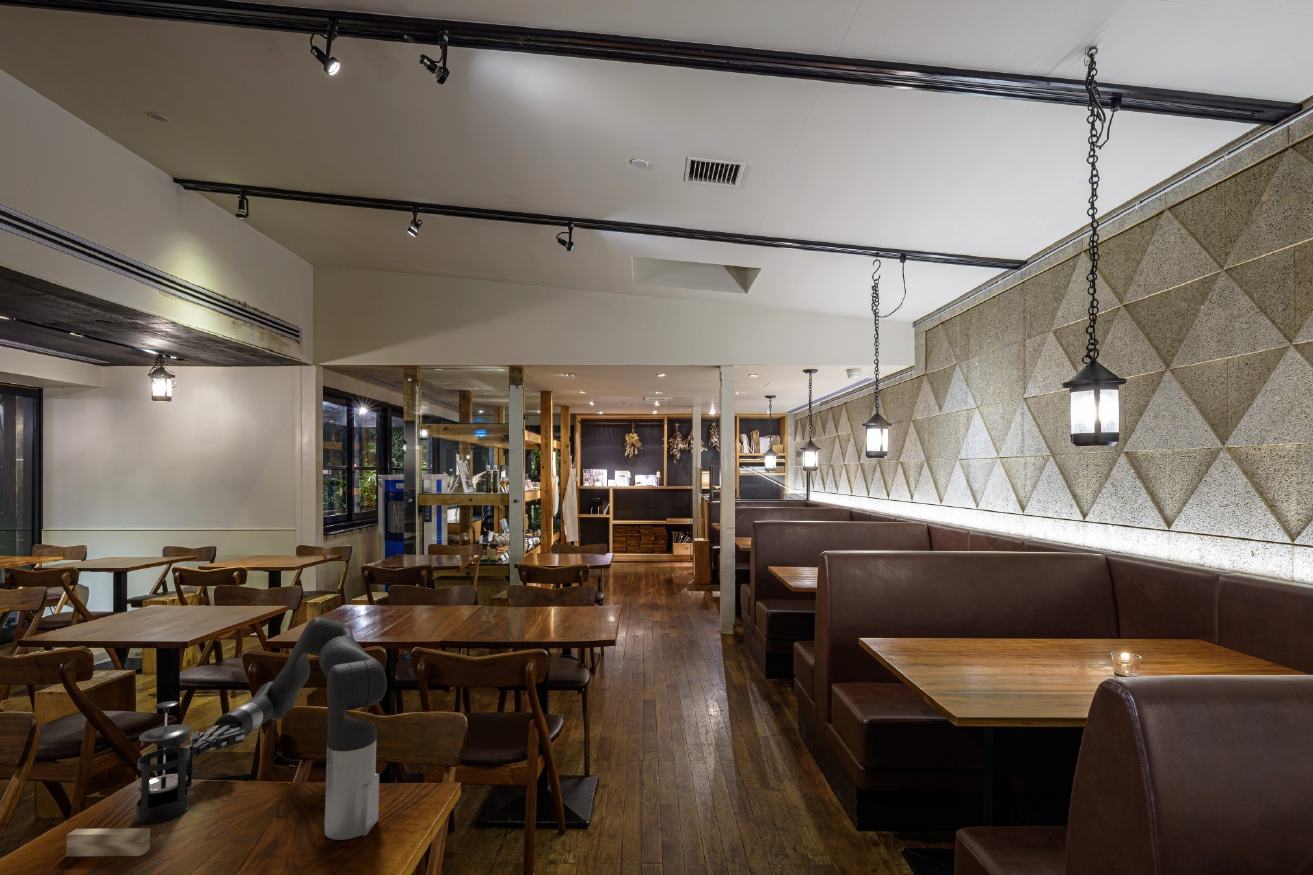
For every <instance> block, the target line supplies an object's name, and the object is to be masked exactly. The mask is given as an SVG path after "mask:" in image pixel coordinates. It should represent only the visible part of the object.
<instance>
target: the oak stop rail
mask: <svg viewBox="0 0 1313 875" xmlns="http://www.w3.org/2000/svg"><path fill="white" fill-rule="evenodd" d="M150 844H151V828H149V827H148V828H147V827H140V828H139V827H138V828H136V827H134V828H131V827H130V828H128V827H127V828H75V829H74V830H72V831H70V832H69V833H67V834H66V845H65V846H66V847H65V850H66V851H65V857H120V856H121V857H132V856H133V857H137V856H138V857H141V855H142V856H143V855H145V854H146V853H147V852H149V851H150V847H151V845H150Z"/></svg>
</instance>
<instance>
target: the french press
mask: <svg viewBox="0 0 1313 875" xmlns="http://www.w3.org/2000/svg"><path fill="white" fill-rule="evenodd" d="M176 706H179V701H175V700H170V701H169V700H168V701H163V702H161V703H160V702H159V703H158V704H156V705H154V707H153V708H154V709H157V710H163V714H164V726H160V727H159V726H158V727H156V728H153V729H152V728H151V729H149V730H146V731H145V732H142V733H141V734H140V735H139V737H138V740H139V741H140V742H141V743H140V746H141V747H143V746H144V745H146V744H147V743H151V744H154V745H156V746H158V747H161V748H162V749H158V750H155V751H151V752H148V753H146V754H145V755H142V756H140V757H139V759H138V760H137V769H138V771H141V778H140V780H141V783H140V785H139V786H138V791H139V793H140V798H139V799H137V801H136V803H135V804H136V805H135V815H134V817H133V820H134V823H135V824H137V825H139V826H140V825H141V826H151V825H152V826H153V825H157V824H162V823H167V822H170V821H172V820H174V819H177V818H180V817H181V816H182V815H184V814H186V812H187V811H188V810H189V809H190V803H189V796H190V794H189V793H190V791H189V789H188V788H190V787H191V786H192V785H193V761H194V757H193V745H191V744H185V743H186V742H187V741H188V740H189V733H191V732H192V731H191V730H192V727H191V726H190V725H189V724H188V725H187V724H170V725H168V714H169V713H170V709H171V708H174V707H176ZM182 744H185V745H183V746H180V745H182ZM174 754H177V759H174V760H171V761H168V762H166V755H174ZM162 756H163V760H162V762H163V763H157V764H156V763H155V764H151V762H152V761H151V760H152V759H154V758H157V757H162ZM175 767H177V769H176V770H177V772H176V773H168V774H166V770H169V769H172V768H175ZM159 771H162V775H159V776H156V777H153V778H151V772H159Z"/></svg>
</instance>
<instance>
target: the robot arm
mask: <svg viewBox="0 0 1313 875" xmlns="http://www.w3.org/2000/svg"><path fill="white" fill-rule="evenodd" d="M352 631H353V630H352V629H351V627H350V626H349V625H348V624H347V623H346V624H345V623H343V622H341V621H340V622H339V621H337V620H332V619H328V618H324V617H319V616H316V617H314V618H312V619H311V620H310V621H309V622H308V623H307V624H306V626H305V627H304V629H303V631H302V632H301V635H300V636H299V638H298V639H297V641H296V643H295V645H294V647H293V649H292V651H291V653H290V655H289V656H288V659H287V661H286V663H285V665H284V667H283V668H282V669H281V670H280V672H279V673H278V674H277V676H276V677H275V679H274V680H273V681H268V682H266V683H264V684H263V685H262V686H261V687H260V688H259V689H258V690H257V691H256V693H255V694H254V696H253V697H252V698H251V699H250V700H249V701H247V702H245V703H243V704H241V705H239V706H238V705H237V707H235V708H233V709H231V710H229V711H228V712H226V713H225V714H223V715H221V716H220V717H218V718H217V719H216V721H215V722H214V723H213V725H212V727H209V728H207V729H205V730H204V731H203V732H200V731H198V730H192V731H190V745H193V758H195V757H199V756H200V755H202V754H204V753H205V752H206V751H207V752H209V751H212V750H213V749H215V750H220V749H224V748H228V747H231V746H234V745H237V744H242V743H244V742H245V738H246V737H247V736H249V735H250V734H252V733H253V732H255V730H257V728H259V727H260V726H262V725H263V724H265V723H266V722H268V721H269V720H270V719H272V720H275V721H279V720H282V719H284V718H283V716H284V714H286V712H287V711H288V710H291V709H293V710H294V707H296V704H297V701H298V696H299V692H300V691H301V689H302V688H303V686H304V685H305V684H306V683H307V681H308V679H309V677H310V674H311V666H310V661H309V658H308V655H310V656H311V655H312V656H316V657H318V663H319V666H320V669H321V671H322V672H323V674H324V676H325V677H326V678H327V680H326V700H327V733H326V734H327V739H326V740H327V741H326V767H325V768H326V769H325V770H326V774H325V801H324V802H325V803H324V804H325V805H324V808H325V809H324V835H325V836H326V837H327V838H328V839H331V840H337V841H340V840H341V841H344V840H350V839H354V838H357V837H361V836H362V837H363V836H368V834H369V833H370V832H371V831H372V828H374V826H375V825H376V824H377V822H378V820H379V796H380V795H379V794H380V774H379V773H376V768H377V766H376V764H377V732H378V731H377V726H376V724H375V723H374V722H372V721H370V720H367V719H360V718H355V717H352V716H350V715H348V714H346V713H347V712H348V711H352V710H357V709H362V708H369V707H371V706H372V707H373V706H375V705H376V704H377V705H378V703H380V702H381V701H382V699H383V698H384V696H385V695H386V691H387V686H388V682H387V681H388V679H387V675H386V671H385V669H384V667H383V665H382V664H381V662H380V660H378V659H376V658H375V657H373V656H371V655H369V654H368V653H367V652H366V651H365V650H364V648H362V646H361V645H360V644H359V642H358V641H357V640H356V639H355V638H354V635H353V632H352ZM307 654H308V655H307Z"/></svg>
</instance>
